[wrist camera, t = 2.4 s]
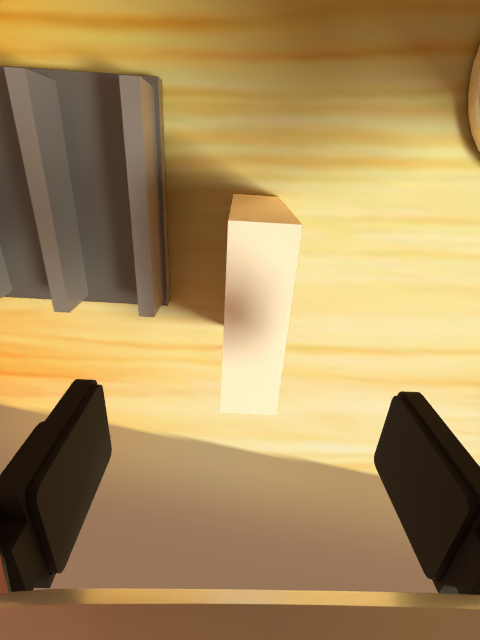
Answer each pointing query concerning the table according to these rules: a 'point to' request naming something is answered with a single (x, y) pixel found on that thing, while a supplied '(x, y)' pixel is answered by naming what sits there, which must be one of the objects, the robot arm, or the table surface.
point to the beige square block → (257, 301)
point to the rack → (83, 188)
